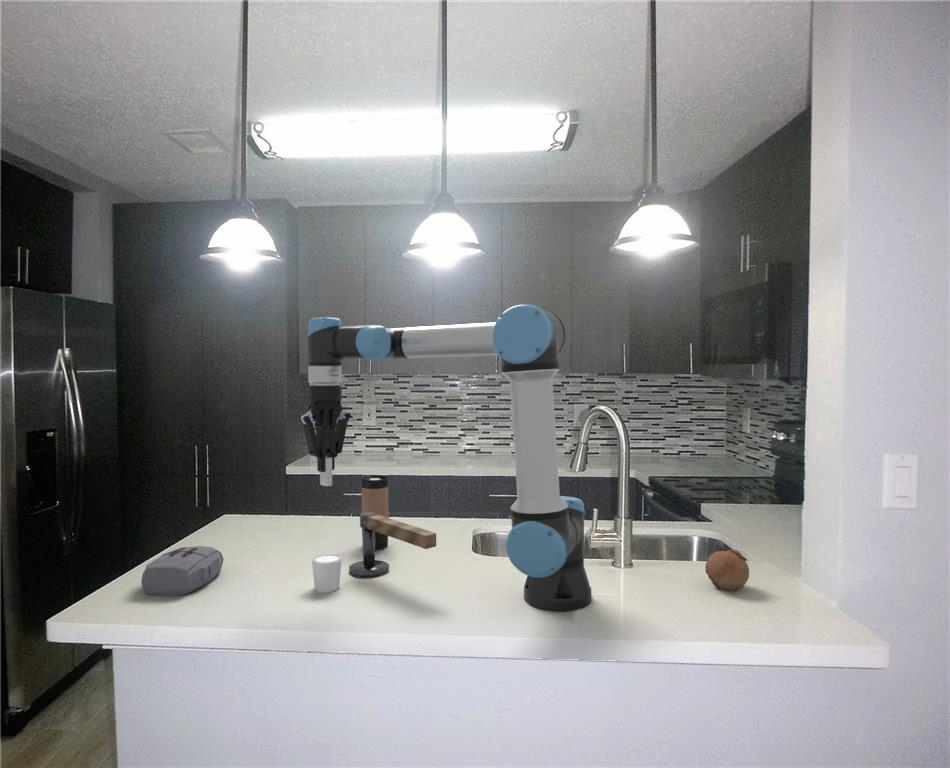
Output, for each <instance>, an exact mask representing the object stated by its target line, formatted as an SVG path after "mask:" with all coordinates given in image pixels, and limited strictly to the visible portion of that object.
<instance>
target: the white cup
mask: <svg viewBox="0 0 950 768" xmlns="http://www.w3.org/2000/svg"><path fill="white" fill-rule="evenodd" d="M311 565H312V572H313V573H312V577H313V583H314V584H313V585H314V586H313V587H314V590H315V592H319V593H333V592H334V591H337V590H339V589H340V585H341V584H340V582H341V570H342V556H340V555H337V554H321V555H318V556H315V557H313V558H312V559H311Z"/></svg>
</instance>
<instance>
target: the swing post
mask: <svg viewBox="0 0 950 768" xmlns="http://www.w3.org/2000/svg"><path fill="white" fill-rule="evenodd" d="M389 571H390V564H389V563H388V562H387V561H384V560H379V559H376V550H375V531H373V530H370V529H367V528H363V541H362V560H360V561H356V562H353V563H352V564H350V565H349V566H348V574H350V575H351V576H353V577H354V578H355V577H356V578H363V579H365V578H366V579H369V578H377V577H381V576H384V575H386V574H387V573H389Z"/></svg>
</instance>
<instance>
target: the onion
mask: <svg viewBox="0 0 950 768" xmlns="http://www.w3.org/2000/svg"><path fill="white" fill-rule="evenodd" d="M746 561H747V559H746V557H744V555H743V554H742V552H740V551H738V550H736V549H726V550H717V551H715V552H713V553H711V554H710V555H709V557H708V558H707V560H706V563H705V573H706V574H707V577H708V578H709V581H711V583H712V584H713V586H714V587H715V588H716V589H718V590H720V589H721V590H724V591H728V592H738V591H739V590H742V589H743V588H744V587H745V584H747V582H748V580H749V578H750V569H749V565H748V562H746Z"/></svg>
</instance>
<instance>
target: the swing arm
mask: <svg viewBox="0 0 950 768" xmlns="http://www.w3.org/2000/svg"><path fill="white" fill-rule="evenodd" d="M359 527H360V528H361V529H362V528H367V529H370V530H373V531H376V532H379V533H382V534H384V535H387V536H388V537H390V538H393V539H396V540H399V541H402V542H405V543H408V544H410V545H413V546H416V547H419V548H422V549H424V550H428V549H432V548H436V547H437V533H436V532H433V531H430V530H427V529H424V528H421V527H417V526H414V525H411V524H408V523H405V522H402V521H399V520H395V519H392V518H386V517H383V516H380V515H378V514H377V513H373V512H367V513H362V512H361V513H360V514H359Z"/></svg>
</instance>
